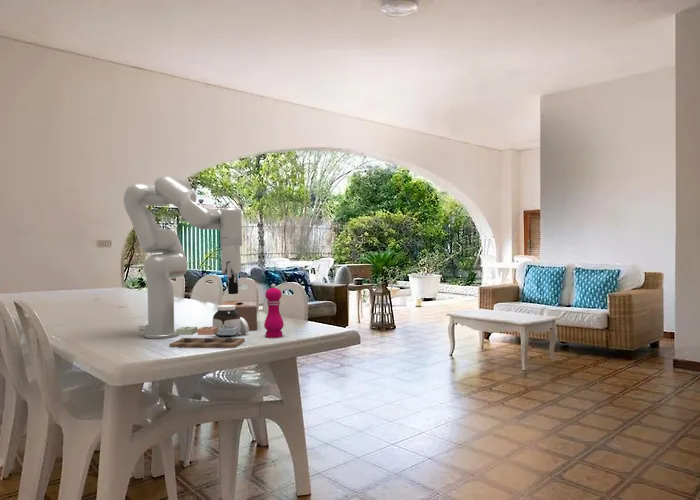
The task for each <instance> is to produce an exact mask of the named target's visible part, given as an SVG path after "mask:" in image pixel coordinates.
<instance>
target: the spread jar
mask: <svg viewBox="0 0 700 500" xmlns="http://www.w3.org/2000/svg"><path fill="white" fill-rule="evenodd" d="M216 308H217V311H216V312H215V313H214V314H213V317H212V327H218V333H216V334H214V336H216V338H236V336H237V335H239V333H241V334H242V335H247V334H248V333H249V332H250V331H249V327H248V324H247V322H246V321H245V319H244V318H242V317H240V315H239V313H238V312H237V311H236V310H235V305H222V304H221V305H217V306H216ZM222 327H239V333H237V334H235V335H219V329H220V328H222Z"/></svg>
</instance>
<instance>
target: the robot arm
mask: <svg viewBox="0 0 700 500" xmlns="http://www.w3.org/2000/svg"><path fill="white" fill-rule="evenodd" d="M196 201H197V193H196V192H195V191H194V190H193V189H192V186H191V183H190V182H189V181H188V179H186V178H185V177H182V176H175V175H168V174H167V175H164V174H163V175H161V176H159V177H157V178H156V179H155V181H154V183H153V184H152V183H144V182H143V183H142V182H139V183H137V182H136V183H132V184H130V185H129V186H128V187H127V188H126V189H125V192H124V194H123V206H124V209H125V212H126V214H127V215H128V217H129V219H130V222H131V224H132V226H133V230H134V232H135V235H136V237H137V241H138V243H139V245H140V248H141V250H142V251H143V252H144V253H148V254H151V255H150V256H148V257H147V258H146V260H145V261H144V264H143V265H144V266H143V267H144V268H143V269H144V273H145V279H146V287H147V288H146V290H147V324H146V325H139V326H138V331H139V332H144V333H143V337H144V338H146V339H169V338H174V337H178V335H177V332H176V330H175V295H174V294H175V290H174V287H173V284H172V281H171V280H170V279H173V278H180V277H182V276H185V274H186V273H187V271H188V268H189V267H188V260H187V257H186V253H185V251H184V248H183V246H182V243H181V241H180V238H179V236H178V234H177V233H176V232H174V231H173V230H171V229H169V228H160V227H159V225H158V224H157V222H156V221H157V220H156V218H155V216H154V215H153V213H152V212H151V211H150V210H149V209H148V208H147V206H152V207H164V206H168V205H173V206H174V207H175V208H177V209H178V211H179V213H180V216H181V217H182V219H184V220H185V221H187V222H188V223H189V224H190V225H192V226H193V227H195V228H196V229H199V230H213V231H214V230H217V231H218V230H219V233H220V234H219V235H220V248H221V274H222V275H226V277H227V292H228V295H238V294H239V281H238V280H239V274H240V273H241V272H242V257H241V247H243V231H242V230H243V228H242V211H241V209H240V208H238V207H225V208H221V209H219V208H209V207H207V208H206V207H202V206H200V205H199V204H198V203H196Z"/></svg>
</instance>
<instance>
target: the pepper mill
mask: <svg viewBox="0 0 700 500" xmlns="http://www.w3.org/2000/svg"><path fill="white" fill-rule="evenodd" d="M265 291H266V292H265V298H266V305H267V308H268V309H267V315H266V318H265V320H264V329H265V330H266V332H265V337H266V338H269V339H274V338H275V339H276V338H281V337H283V328H284V320H283V317H282V315H281V313H280V305H281V300H280V299H282V291H281V290H280V289H279V288H277V287H276V283H272V284H271V285H270V288H268V289H267V290H265Z"/></svg>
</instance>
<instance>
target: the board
mask: <svg viewBox="0 0 700 500" xmlns="http://www.w3.org/2000/svg"><path fill="white" fill-rule="evenodd" d="M244 342H246V341H245V337H229V338H220V337H181V338H179V339H178V340H177V339H176V340H175V341H173V342H171V343H169V347H184V348H185V349H186V348H189V349H190V348H195V349H199V348H200V349H203V348H204V349H206V348H207V349H235V348H238V347H239V346H241V345H242V344H243V343H244ZM169 347H168V348H169ZM184 348H183V349H184Z"/></svg>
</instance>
